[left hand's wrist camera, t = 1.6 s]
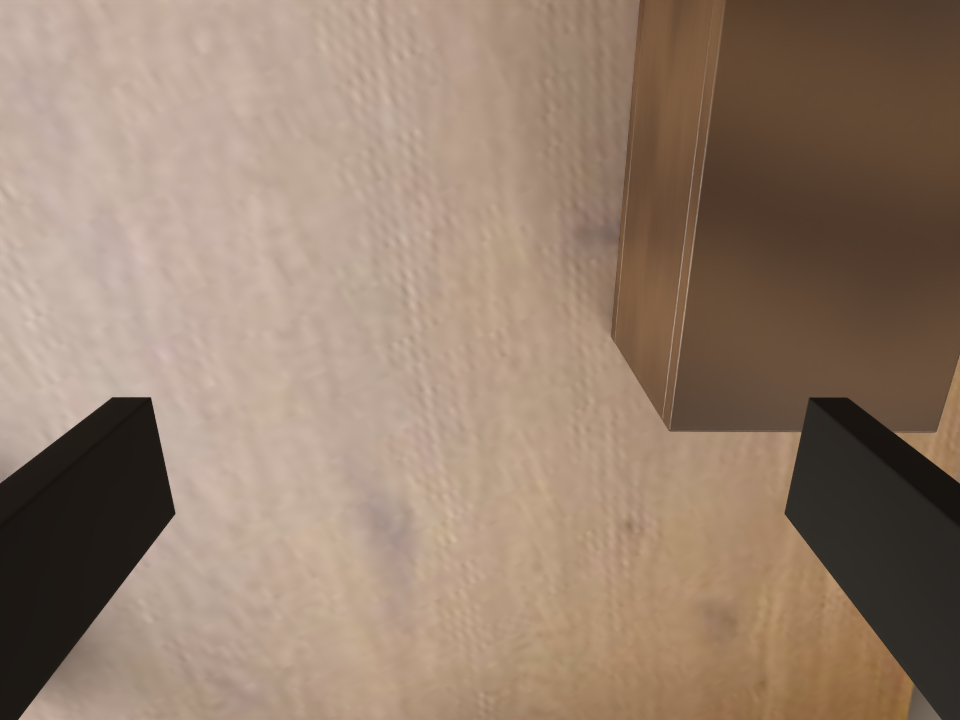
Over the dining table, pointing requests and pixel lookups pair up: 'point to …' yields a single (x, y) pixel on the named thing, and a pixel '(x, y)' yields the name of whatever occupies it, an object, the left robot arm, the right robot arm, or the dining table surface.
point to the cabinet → (792, 211)
